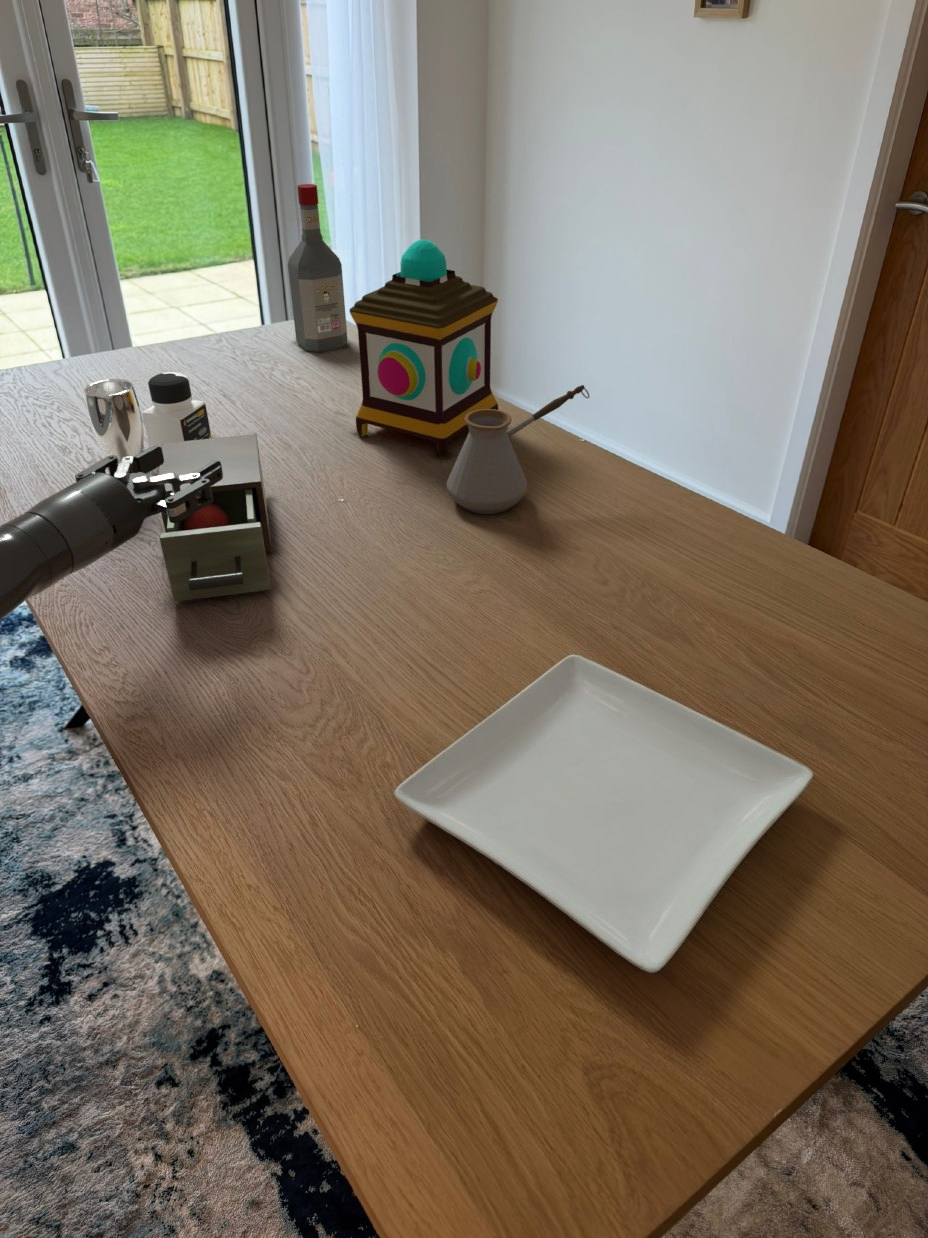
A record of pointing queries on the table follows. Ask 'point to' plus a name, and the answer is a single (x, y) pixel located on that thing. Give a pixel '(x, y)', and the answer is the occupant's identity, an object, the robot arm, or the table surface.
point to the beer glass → (116, 417)
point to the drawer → (218, 552)
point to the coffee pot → (493, 460)
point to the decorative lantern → (424, 349)
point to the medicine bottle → (174, 411)
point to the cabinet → (236, 466)
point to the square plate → (609, 803)
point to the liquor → (316, 283)
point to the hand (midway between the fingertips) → (189, 460)
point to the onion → (207, 518)
